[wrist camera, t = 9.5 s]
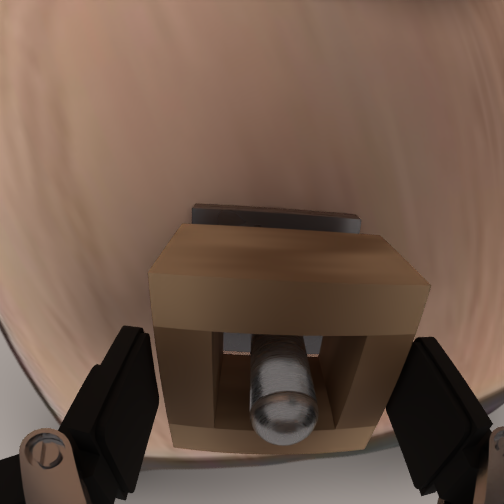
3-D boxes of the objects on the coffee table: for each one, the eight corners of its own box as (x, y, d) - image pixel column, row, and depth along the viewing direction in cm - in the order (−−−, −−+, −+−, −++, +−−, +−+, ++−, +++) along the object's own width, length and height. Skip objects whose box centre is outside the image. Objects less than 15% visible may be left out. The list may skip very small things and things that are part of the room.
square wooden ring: (380, 235, 11) (430, 285, 7) (344, 381, 14) (364, 449, 10) (182, 223, 11) (147, 272, 7) (189, 376, 14) (173, 447, 10)
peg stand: (355, 214, 14) (465, 321, 6) (330, 344, 16) (372, 487, 8) (195, 203, 14) (119, 310, 6) (196, 338, 16) (163, 487, 8)
